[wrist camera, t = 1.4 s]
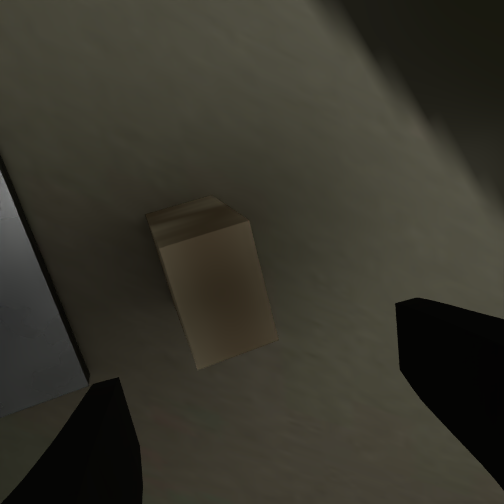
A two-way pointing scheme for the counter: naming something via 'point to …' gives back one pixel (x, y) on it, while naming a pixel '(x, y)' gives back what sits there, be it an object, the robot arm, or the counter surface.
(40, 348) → the black tray
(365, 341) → the counter surface
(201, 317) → the cardboard box
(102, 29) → the counter surface
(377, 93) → the counter surface
